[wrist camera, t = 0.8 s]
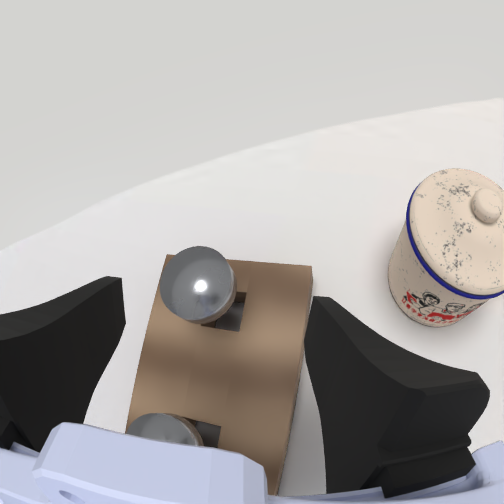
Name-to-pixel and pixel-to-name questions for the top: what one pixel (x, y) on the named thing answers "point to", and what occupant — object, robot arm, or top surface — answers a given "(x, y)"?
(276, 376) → the board
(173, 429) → the plunger
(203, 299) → the plunger
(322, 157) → the top surface
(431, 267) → the teacup with lid
